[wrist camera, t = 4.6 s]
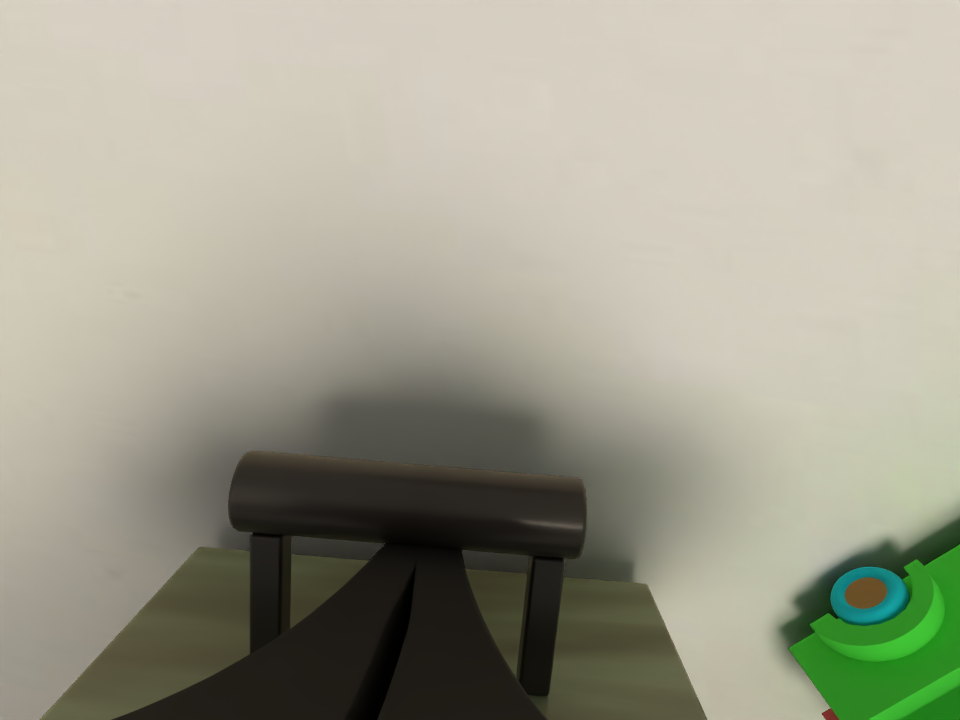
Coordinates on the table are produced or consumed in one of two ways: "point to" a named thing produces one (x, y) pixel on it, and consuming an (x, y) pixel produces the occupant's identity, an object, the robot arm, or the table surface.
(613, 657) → the drawer
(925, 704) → the toy car
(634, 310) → the table surface
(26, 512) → the table surface
